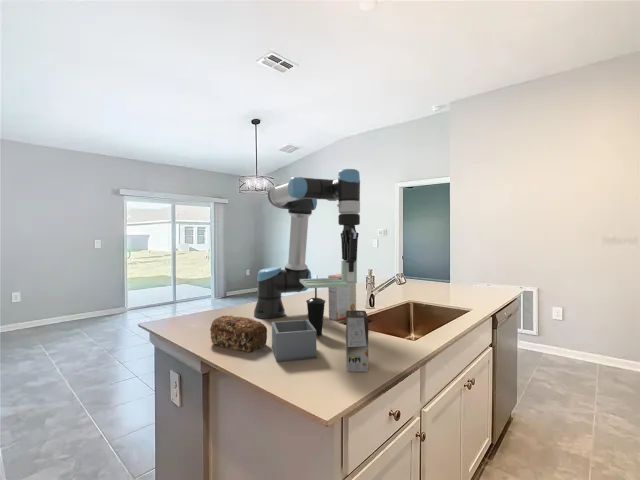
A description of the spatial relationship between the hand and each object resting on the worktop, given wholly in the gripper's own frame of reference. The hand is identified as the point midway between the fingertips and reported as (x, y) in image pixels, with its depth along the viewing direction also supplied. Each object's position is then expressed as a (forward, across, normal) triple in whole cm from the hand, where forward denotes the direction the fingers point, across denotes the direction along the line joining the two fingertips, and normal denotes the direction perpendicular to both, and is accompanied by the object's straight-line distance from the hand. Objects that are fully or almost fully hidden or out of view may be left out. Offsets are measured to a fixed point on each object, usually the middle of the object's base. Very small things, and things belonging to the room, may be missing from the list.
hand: (349, 280), depth 116 cm
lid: (+1, 0, -7) cm, 7 cm away
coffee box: (+24, +16, -3) cm, 29 cm away
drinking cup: (+24, -17, -8) cm, 31 cm away
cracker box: (+24, -42, +10) cm, 49 cm away
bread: (+24, -12, -38) cm, 47 cm away
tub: (+24, 0, -20) cm, 31 cm away
